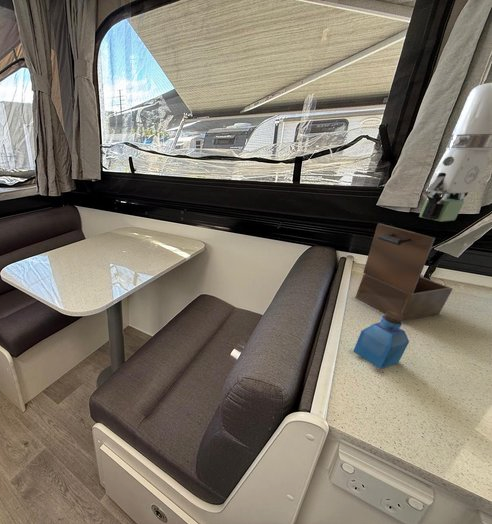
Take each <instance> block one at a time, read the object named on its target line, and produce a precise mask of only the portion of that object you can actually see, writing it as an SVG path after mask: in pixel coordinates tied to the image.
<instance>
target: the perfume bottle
mask: <svg viewBox="0 0 492 524" xmlns="http://www.w3.org/2000/svg"><path fill="white" fill-rule="evenodd" d="M402 320H403V317H402V316H401V315H400V314H397V313H395V312H390V311H387V312H385V314H384V315H382V316H381V319H380V322H376V323H373V324H371V325H369V326H367V327H366V328H364V329H362V330H361V331H360V334H359V336H358V338H357V341H356V343H355V346H354V347H353V352H354V353H356V354H357V355H359V356H360V357H362V358H363V359H365V360H366V361H367V362H369V363H371V364H372V365H373V366H375V367H377V368H378V369H379V370H382V369H384V368H387V367H390V366H393V365H396V364H398V363H400V361H401V359H402V357H403V355H404V353H405V351H406V349H407V348H408V346H409V343H410V340H409V338H408V336H407V333H406V331H405V330H404V329H402V328H401V327H402V325H403V321H402Z"/></svg>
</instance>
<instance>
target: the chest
mask: <svg viewBox="0 0 492 524" xmlns="http://www.w3.org/2000/svg"><path fill="white" fill-rule="evenodd" d="M452 291H453V288H452V287H449V286H448V285H444V284H443V283H440V282H436V281H434V280H432V279H429V278H427V277H424V276H422V275H420V278H419V280H418V283H417V285H416V288H415V290H414V293H413V294H409V293H407V292H405V291H402V290H400V289H398V288H396V287H393V286H391V285H389V284H387V283H385V282H382V281H380V280H378V279H376V278H373V277H371V276H369V275H367V274H364V273H363V275H362V278H361V280H360V282H359V286H358V289H357V291H356V294H355V297H354V298H355V299H357V300H359V301H361V302H362V303H364V304H366V305H367V306H369V307H372V308H373V309H375V310H376V311H379V312H381V314H382V313H383V315H385V312H387V311H390V312H395V313H397V314H400V315H401V316H402V317H403V320H402V321H401V322H405V321H409V320H414V319H415V320H416V319H421V318H426V317H432V316H436V315H437V316H438V315H440V313H441V311H442V310H443V308H444V306H445V304H446V302H447V301H448V299H449V297H450V295H451V294H452Z"/></svg>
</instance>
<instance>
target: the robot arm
mask: <svg viewBox="0 0 492 524" xmlns="http://www.w3.org/2000/svg"><path fill="white" fill-rule="evenodd" d="M491 155H492V82H487V83H482V84H479V85H476V86H475V87H473V88H472V89H471V90H470V92H469V94H468V96H467V98H466V101H465V103H464V105H463V108H462V110H461V112H460V115H459V117H458V119H457V122H456V124H455V126H454V129H453V132H452V134H451V136H450V138H449V141H448V143H447V145H446V148H445V152H444V153H443V155H442V157H441V158H440V160H439V162H438V164H437V166H436V168H435V170H434V172H433V174H432V176H431V178H430V182H429V185H428V187H427V188H426V189H425V194H426V195H427V198H428V199H427V198H426V199H427V205H426V207H425V209H424V212H423V214H422V217H423V219H427V218H428V219H427V220H432V219H433V220H432V221H436V219H438V216H439V214H440V212H441V210H442V208H443V206H444V205H443V204H442V203H443V201H444V200H445V198H447V199H454V200H460V201H464V199H465V197H466V196H468V194H469V193H473V192H474V191H477V189H478V188H479V186H480V183H481V181H482V180H483V177H484V174H485V173H486V169H487V167H488V164H489V162H490V158H491ZM422 217H421V218H422Z"/></svg>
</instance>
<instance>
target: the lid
mask: <svg viewBox="0 0 492 524" xmlns="http://www.w3.org/2000/svg"><path fill="white" fill-rule="evenodd" d="M435 240H436V237H434V236H430V235H426V234H423V233H418V232H415V231H411V230H407V229H403V228H399V227H395V226H392V225H388V224H384V223H380V222H379V223H377V225H376V228H375V232H374V234H373V239H372V242H371V245H370V247H369V248H370V249H369V252H368V256H367V258H366V262H365V265H364V269H363V272H362V273H363V275H364V274H367V275H369V276H371V277H373V278H376V279H378V280H380V281H382V282H385V283H387V284H389V285H391V286H393V287H396V288H398V289H400V290H402V291H405V292H407V293H409V294H413V293H414V290H415V288H416V285H417V283H418V280H419V278H420V276H422V273H423V270H424V267H425V265H426V264H427V263H426V262H427V260H428V258H429V255H430V252H431V250H432V247H433V245H434V243H435Z"/></svg>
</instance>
